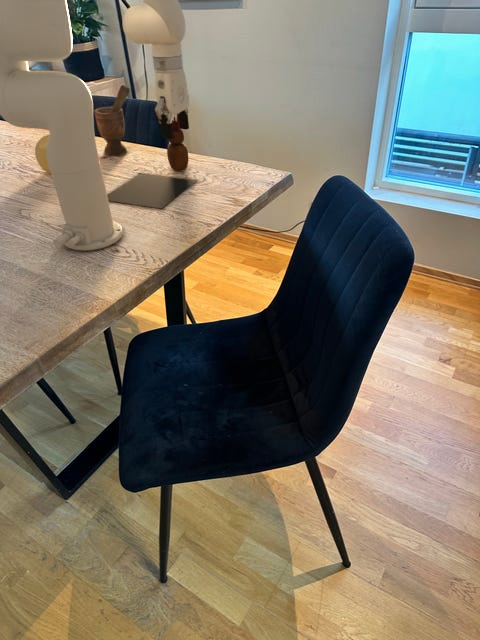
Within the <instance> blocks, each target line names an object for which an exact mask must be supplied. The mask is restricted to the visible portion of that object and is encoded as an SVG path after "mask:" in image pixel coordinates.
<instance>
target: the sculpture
mask: <svg viewBox="0 0 480 640" xmlns="http://www.w3.org/2000/svg"><path fill="white" fill-rule="evenodd" d="M49 136H50V133H49V134H46V135H43V136H42V137H41V138H40V139H38V141H37V142H36V144H35V148H34V153H35V154H34V155H35V159H36V161H37V164H38V165H39V167H40V168H41V169H42V170H43V171H44V172H46V173H47V174H50V175H51V172H50V169H49V166H48V162H47V157H46V149H47V144H48V141H49Z"/></svg>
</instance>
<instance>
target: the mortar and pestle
mask: <svg viewBox="0 0 480 640" xmlns="http://www.w3.org/2000/svg"><path fill="white" fill-rule="evenodd" d="M129 94H130V87H129V86H128V85H126V84H122V85H120V87H119V89H118V92H117V95H116V98H115V101H114V104H113V106H103V107H102V106H101V107H97V108H96V109H93V114H94V116H95V121H96V127H97V129H98V132H99V134H100V136H101V138H102V139H103V140H104V141H105V142H106V146H105V147H104V149H103V150H104V151H103V153H104V155H105V156H109V157H116V156H121V155H124V154H127V153H128V150H127V147H126V146H125V144H123V143H122V138H124V136H125V131H126V130H125V127H126V126H125V119H124V110H123V108H122V106H123V105H124V103H125V101H126V100H127V98H128V96H129Z"/></svg>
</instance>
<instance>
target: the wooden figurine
mask: <svg viewBox="0 0 480 640" xmlns="http://www.w3.org/2000/svg"><path fill="white" fill-rule="evenodd" d="M171 123H172V130H173V139H167V141H168V143H169V144H168V145H167V148H166V153H167V154H166V155H167V160H168V161H167V162H168V163H169V166H170V168H171V170H173V171H174V172H183V171H186V170H187V168H188V165H189V152H188V151H189V150H188V147H187V146H186V144H185V143H184V141H185V134H184V130H183V129H180V126H179V118H178V116H177V115H176V117H175V116H174V117H173V120H172V119H171Z"/></svg>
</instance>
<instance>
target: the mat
mask: <svg viewBox="0 0 480 640" xmlns="http://www.w3.org/2000/svg"><path fill="white" fill-rule="evenodd" d="M195 183H197V180H196V179H191V178H190V179H189V178H180V177H172V176H165V175H156V174H148V173H138V174H137V175H136V176H134V177H133V178H131V179H129V180H128V181H126V182H125V183H123V184H122V185H120V186H119V187H117V188H115V189H114V190H113V191H111V192H109V193H107V197H108V201H109V203H116V204H124V205H131V206H138V207H144V208H150V209H158V210H163V209H164V208H165V207H167V206H168V205H169V204H170V203H172V201H174V200H175V199H177V197H179V196H180V195H182V193H184V192H185V191H187V189H189V188H190V187H191V186H192V185H194V184H195Z"/></svg>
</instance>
